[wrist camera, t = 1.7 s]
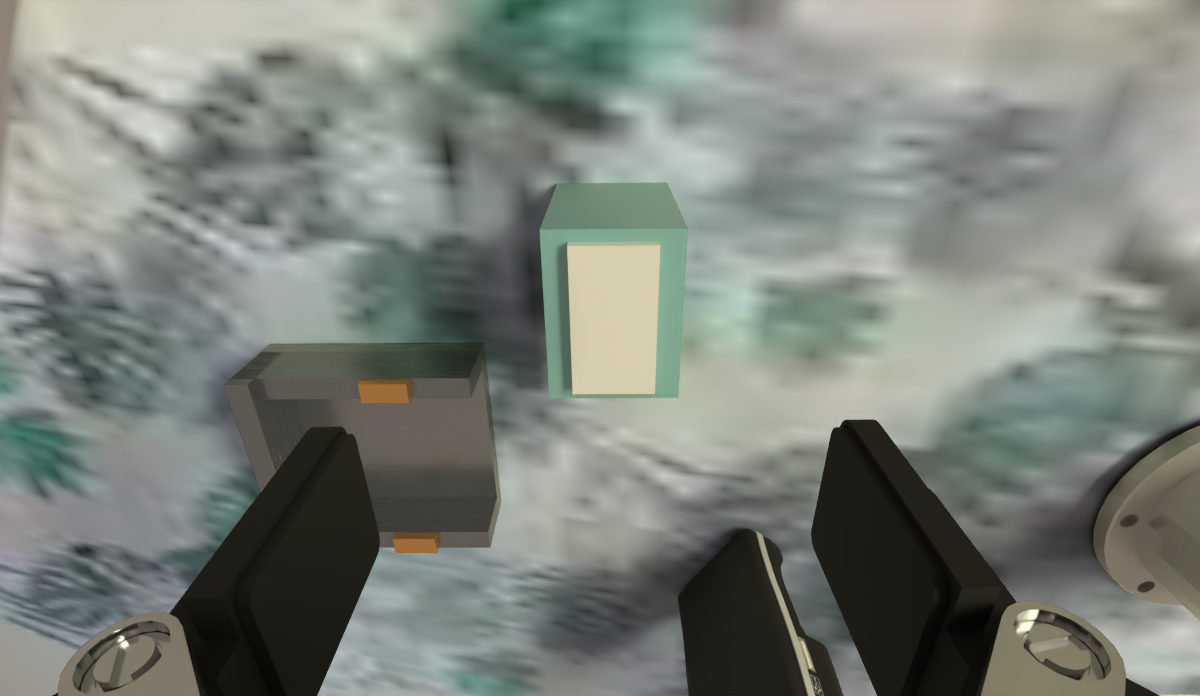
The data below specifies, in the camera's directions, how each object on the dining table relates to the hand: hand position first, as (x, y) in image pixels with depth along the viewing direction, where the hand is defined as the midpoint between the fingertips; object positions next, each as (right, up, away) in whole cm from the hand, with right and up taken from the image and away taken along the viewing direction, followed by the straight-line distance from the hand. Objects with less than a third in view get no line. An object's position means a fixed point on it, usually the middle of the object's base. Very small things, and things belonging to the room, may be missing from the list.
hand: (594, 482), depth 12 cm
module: (+1, +7, +14) cm, 15 cm away
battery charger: (+8, -10, +22) cm, 26 cm away
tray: (-10, -1, +18) cm, 21 cm away
